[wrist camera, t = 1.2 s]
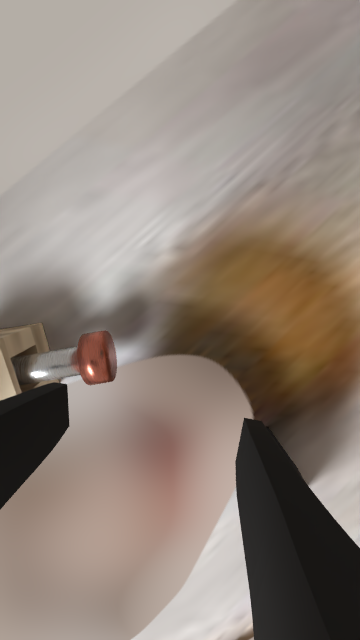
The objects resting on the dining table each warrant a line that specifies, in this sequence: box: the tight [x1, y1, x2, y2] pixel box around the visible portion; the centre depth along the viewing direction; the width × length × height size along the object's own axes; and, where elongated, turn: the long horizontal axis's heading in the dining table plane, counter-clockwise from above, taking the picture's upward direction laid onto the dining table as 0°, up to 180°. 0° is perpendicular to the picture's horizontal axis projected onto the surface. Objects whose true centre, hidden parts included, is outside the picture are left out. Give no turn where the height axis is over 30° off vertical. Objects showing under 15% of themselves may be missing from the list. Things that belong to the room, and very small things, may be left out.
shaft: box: [10, 330, 117, 385], centre depth 16 cm, size 8×4×4 cm, turn 98°
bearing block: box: [0, 323, 59, 401], centre depth 17 cm, size 5×6×5 cm
